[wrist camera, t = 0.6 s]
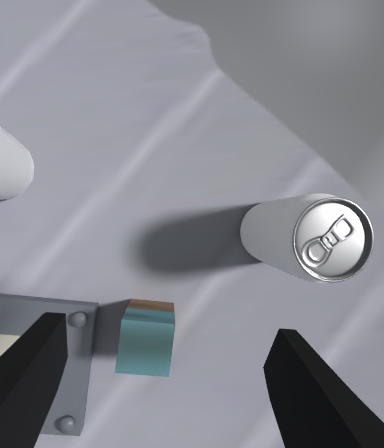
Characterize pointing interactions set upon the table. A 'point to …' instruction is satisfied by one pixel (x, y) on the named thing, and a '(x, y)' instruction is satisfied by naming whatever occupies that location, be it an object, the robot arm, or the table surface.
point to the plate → (77, 353)
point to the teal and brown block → (146, 338)
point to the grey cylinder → (310, 236)
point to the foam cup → (14, 166)
